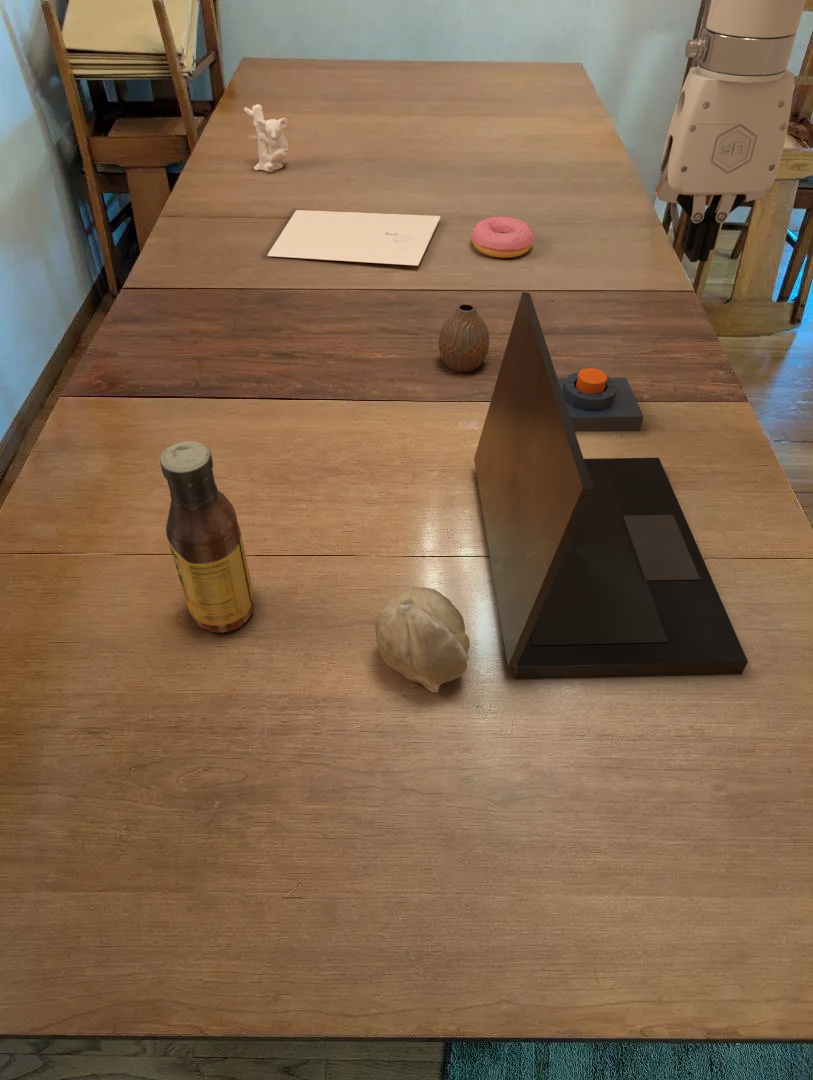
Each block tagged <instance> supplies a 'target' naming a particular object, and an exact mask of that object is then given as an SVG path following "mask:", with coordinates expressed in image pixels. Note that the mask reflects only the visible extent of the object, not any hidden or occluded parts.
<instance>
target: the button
mask: <svg viewBox="0 0 813 1080" xmlns="http://www.w3.org/2000/svg"><path fill="white" fill-rule="evenodd" d="M579 371H580V372H579ZM579 371H578V372H579V373H578V378H577V383H576V388H577V389H578V390H580V391H581V392H584V393H588V394H600V393H602V392H604V390H605V386H606V381H607V376H608V375H607V374H606V372H604V371H603V370H601V369H598V368H594V367H586V368H584V369H581V370H579Z"/></svg>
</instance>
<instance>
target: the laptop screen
mask: <svg viewBox="0 0 813 1080" xmlns="http://www.w3.org/2000/svg"><path fill="white" fill-rule="evenodd" d="M518 302H519V303H518V306H517V309H516V312H515V316H514V319H513V323H512V326H511V330H510V333H509V337H508V341H507V343H506V346H505V351H504V353H503V358H502V360H501V364H500V368H499V371H498V374H497V377H496V382H495V385H494V388H493V392H492V394H491V399H490V403H489V406H488V409H487V412H486V416H485V420H484V422H483V427H482V430H481V433H480V437H479V441H478V444H477V447H476V451H475V454H474V458H473V460H474V468H475V474H476V480H477V486H478V491H479V499H480V504H481V510H482V517H483V522H484V528H485V534H486V541H487V547H488V548H487V549H488V552H489V559H490V565H491V571H492V577H493V584H494V590H495V596H496V602H497V608H498V613H499V621H500V626H501V633H502V639H503V645H504V651H505V657H506V662H507V664H506V665H507V668H508V667H509V668H513V667H516V666H517V664H518V662H519V660H520V657H521V655H522V653H523V650H524V648H525V646H526V643H527V641H528V639H529V636H530V634H531V632H532V630H533V627H534V625H535V623H536V620H537V618H538V616H539V613H540V611H541V609H542V606H543V604H544V602H545V600H546V597H547V595H548V593H549V590H550V588H551V586H552V583H553V581H554V579H555V576H556V574H557V572H558V570H559V567H560V565H561V563H562V560H563V558H564V556H565V553H566V551H567V549H568V546H569V544H570V542H571V540H572V537H573V535H574V533H575V530H576V528H577V526H578V523H579V521H580V519H581V516H582V514H583V512H584V510H585V507H586V505H587V503H588V500H589V498H590V496H591V493H592V491H593V486H592V483H591V480H590V477H589V474H588V471H587V468H586V465H585V461H584V459H585V458H584V456H583V452H582V450H581V446H580V443H579V439H578V437H577V434H576V432H575V431H574V428H573V425H572V421H571V418H570V415H569V412H568V409H567V406H566V403H565V400H564V397H563V394H562V391H561V388H560V384H559V381H558V378H559V377H558V375H557V372H556V369H555V366H554V364H553V360H552V356H551V354H550V351H549V347H548V344H547V342H546V339H545V336H544V332H543V330H542V327H541V323H540V320H539V317H538V314H537V311H536V307H535V305H534V301H533V298H532V296H531V293H530V292H525V291H522V292H521V295H520V299H519V301H518Z"/></svg>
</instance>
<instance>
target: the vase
mask: <svg viewBox="0 0 813 1080" xmlns="http://www.w3.org/2000/svg"><path fill="white" fill-rule="evenodd" d="M489 349H490V333H489V330H488V326H487V324H486V322H485V321H484V319H483V318H482V317H481V316H480V314H479V312H478V311H477V307H476V306H475V304H473V303H469V302H463V303H459V304H458V305H457V306H456V308H455V310H454V311H453V312H452V313H451V314H450V315H449V316H448V318H447V319H446V320H445V321H444V323H443V324H442V326H441V328H440V332H439V335H438V351H439V355H440V358H441V360H442V361H443V363H444V364H445V365H446V367H448V369H451V370H452V371H454V372H458V373H469V372H472V371H474V370H476V369H478V368H479V367H480V366H481V365H482V364H483V363H484V361H485V359H486V357H487V355H488V352H489Z"/></svg>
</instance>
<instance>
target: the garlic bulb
mask: <svg viewBox="0 0 813 1080" xmlns="http://www.w3.org/2000/svg"><path fill="white" fill-rule="evenodd" d="M374 630H375V631H374V632H375V639H376V643H377V646H378V650H379V654H380V656H381V658H382V659H383V662H384V663H385V664H386V665H387V666H389V667H390V668H391V669H392V670H394V671H395V672H398V673H401V674H402V675H403V676H404V677H405V678H406V679H407V680H409V681H411V682H413V683H417V684H421V685H422V686H423V687H425V688H426V689H427V690H428V691H430V692H432V693H438V692H439V690H440V686H441V685H442V684H445V683H448V682H452V681H454V680H457V679H458V678H460V677H462V676H463V675H464V674H465V672H466V670H467V669H468V662H467V661H468V660H469V655H468V652H469V649H470V645H471V644H470V638H469V635H468V634H466V624H465V620H464V618H463V615H462V613H461V612H460V611H459V609H457V608H456V606H455V605H454V604H453V603H452V601H451V600H450V599H449V598H448V597H447V596H444V595H443V594H442V593H441V592H439V591H438V590H437V589H434V588H430V587H425V586H424V587H423V586H419V587H418V586H412V587H409V588H406V589H404V590H402V591H400V592H398V593H396V594H394V595H392V596H391V598H389V599H388V600H387V601H386V603H385V604H384V606H383V607H382V608H381V609H380V610H379V611H377V614H376V618H375V624H374Z"/></svg>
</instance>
